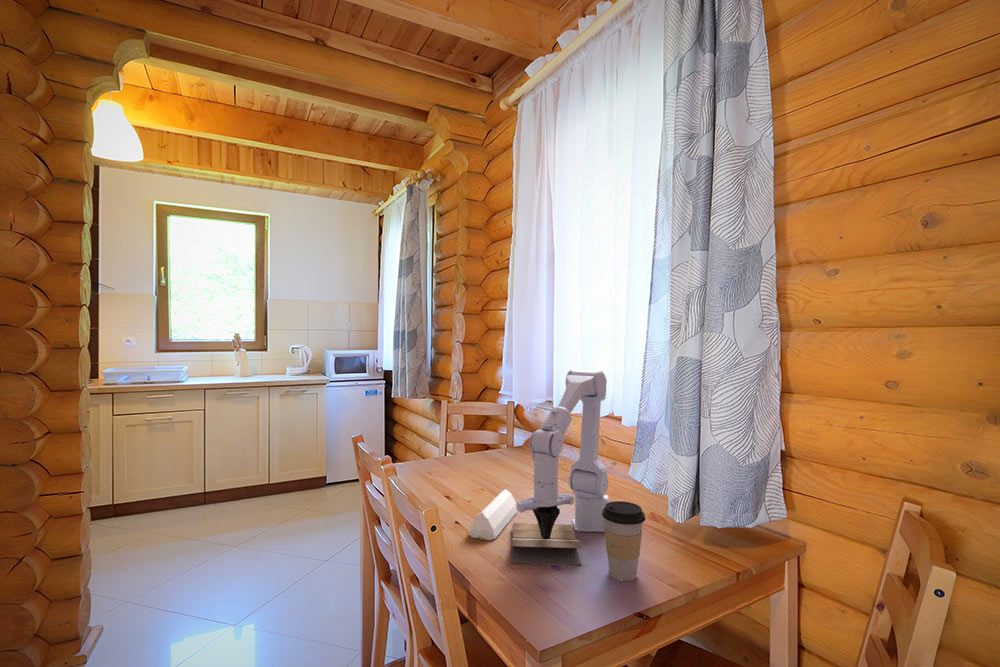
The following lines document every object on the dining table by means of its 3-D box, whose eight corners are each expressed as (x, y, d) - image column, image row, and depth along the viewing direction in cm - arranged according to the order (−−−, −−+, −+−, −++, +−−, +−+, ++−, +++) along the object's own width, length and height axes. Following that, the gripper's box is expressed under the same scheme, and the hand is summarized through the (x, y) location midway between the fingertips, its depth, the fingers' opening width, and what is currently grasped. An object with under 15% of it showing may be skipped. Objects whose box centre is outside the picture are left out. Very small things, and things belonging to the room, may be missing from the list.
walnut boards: (571, 530, 126) (571, 524, 126) (575, 544, 117) (575, 539, 117) (512, 528, 127) (513, 523, 127) (512, 543, 118) (512, 537, 118)
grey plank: (575, 546, 116) (575, 539, 117) (580, 548, 108) (580, 541, 109) (512, 544, 117) (512, 538, 118) (511, 546, 109) (512, 539, 109)
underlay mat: (571, 528, 128) (571, 527, 128) (581, 565, 107) (581, 564, 107) (512, 526, 129) (512, 525, 129) (510, 563, 108) (510, 562, 108)
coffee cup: (593, 574, 104) (593, 506, 104) (615, 560, 110) (616, 497, 110) (631, 590, 97) (631, 518, 97) (652, 574, 103) (653, 507, 104)
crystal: (499, 530, 118) (524, 499, 140) (476, 513, 120) (505, 485, 142) (485, 553, 119) (513, 519, 141) (463, 536, 121) (494, 504, 144)
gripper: (563, 472, 117) (562, 526, 117) (511, 479, 112) (510, 535, 111) (578, 480, 111) (578, 537, 111) (524, 488, 105) (524, 548, 105)
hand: (545, 537), depth 111 cm, fingers closed
